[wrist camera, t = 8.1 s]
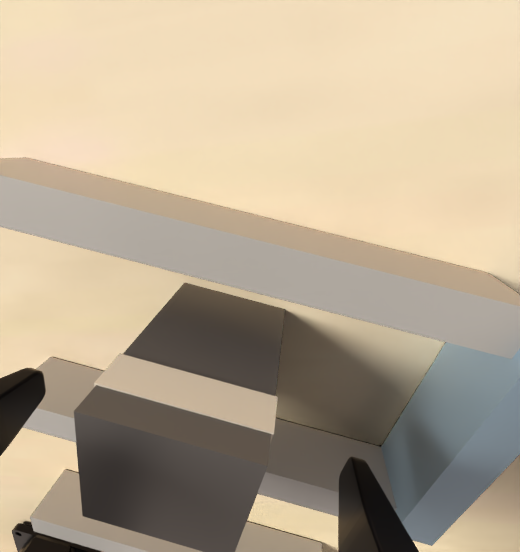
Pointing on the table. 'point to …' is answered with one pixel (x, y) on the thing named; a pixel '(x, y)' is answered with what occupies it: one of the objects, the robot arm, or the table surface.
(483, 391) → the grey rectangular bars
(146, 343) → the grey capped block
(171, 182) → the table surface
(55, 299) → the table surface
